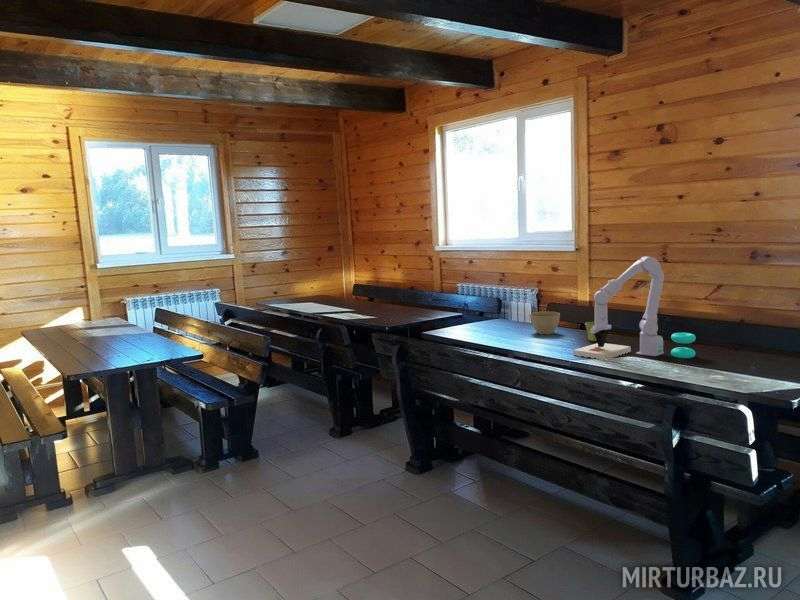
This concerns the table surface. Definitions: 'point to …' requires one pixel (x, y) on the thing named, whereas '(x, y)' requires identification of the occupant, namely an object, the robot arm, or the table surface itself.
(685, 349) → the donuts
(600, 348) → the ball
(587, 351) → the deck
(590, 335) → the plant pot
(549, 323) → the planter bowl
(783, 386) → the table surface
